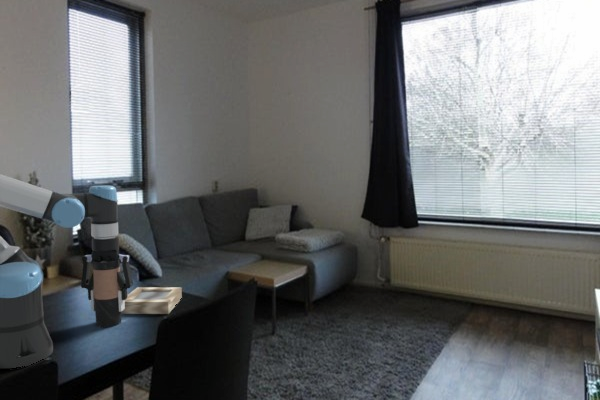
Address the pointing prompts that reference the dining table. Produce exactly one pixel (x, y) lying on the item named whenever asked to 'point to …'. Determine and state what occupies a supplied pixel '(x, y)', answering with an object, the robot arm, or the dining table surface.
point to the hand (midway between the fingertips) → (108, 309)
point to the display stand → (152, 300)
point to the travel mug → (106, 293)
